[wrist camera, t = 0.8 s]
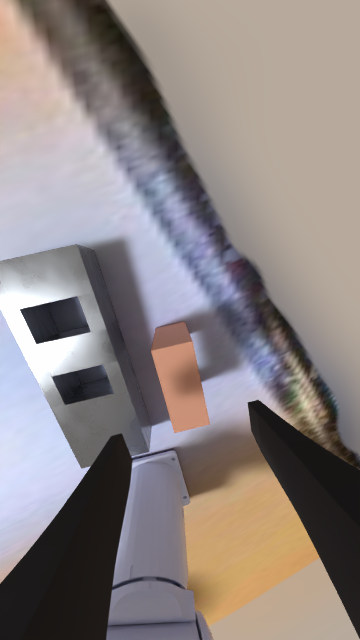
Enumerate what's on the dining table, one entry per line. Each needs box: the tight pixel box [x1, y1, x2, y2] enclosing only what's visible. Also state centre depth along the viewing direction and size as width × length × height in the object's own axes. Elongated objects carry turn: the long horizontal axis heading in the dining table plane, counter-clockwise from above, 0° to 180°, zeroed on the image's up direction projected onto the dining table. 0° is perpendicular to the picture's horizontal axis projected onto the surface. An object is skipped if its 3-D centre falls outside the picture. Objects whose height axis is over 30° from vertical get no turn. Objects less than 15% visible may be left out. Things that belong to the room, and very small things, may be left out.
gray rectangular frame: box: [0, 244, 152, 468], centre depth 16 cm, size 20×7×3 cm, turn 12°
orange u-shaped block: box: [151, 322, 210, 433], centre depth 16 cm, size 8×3×6 cm, turn 12°
